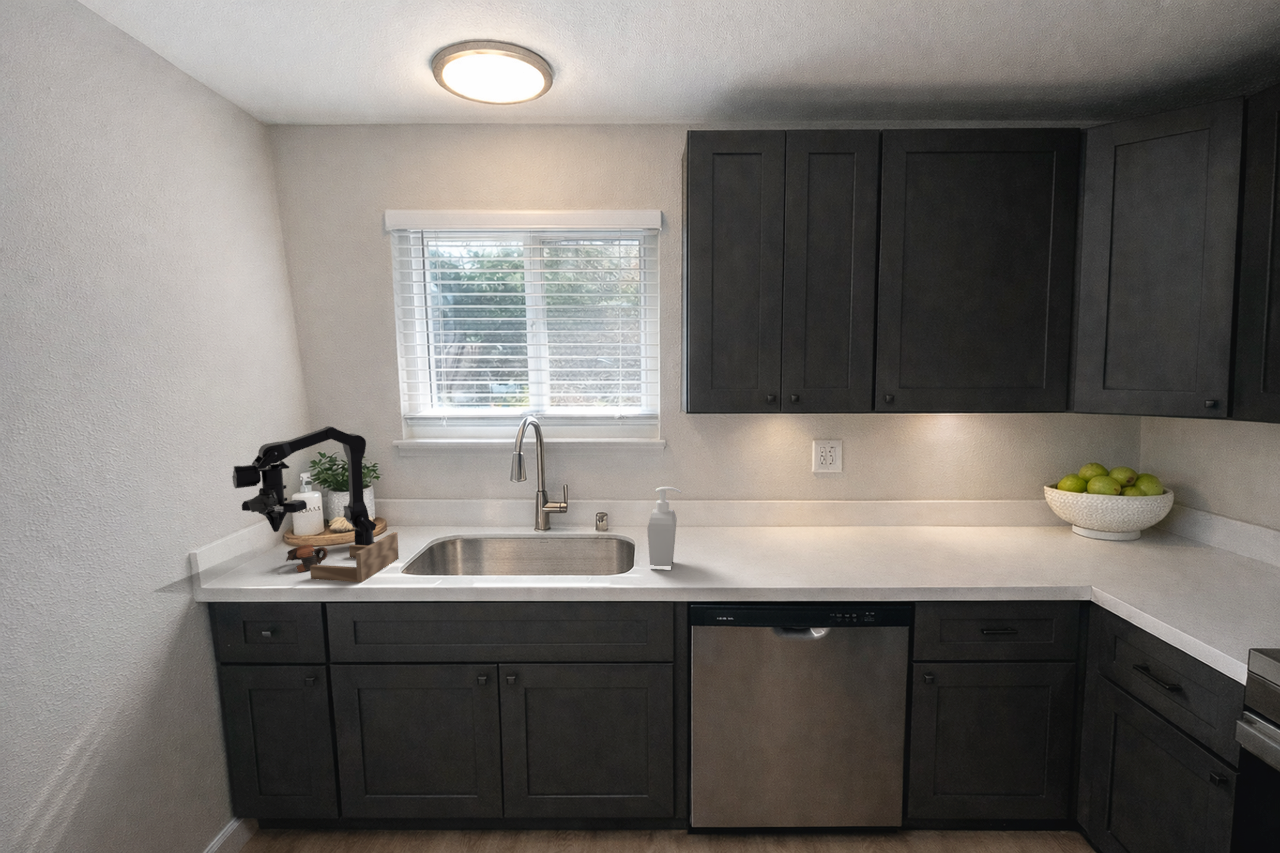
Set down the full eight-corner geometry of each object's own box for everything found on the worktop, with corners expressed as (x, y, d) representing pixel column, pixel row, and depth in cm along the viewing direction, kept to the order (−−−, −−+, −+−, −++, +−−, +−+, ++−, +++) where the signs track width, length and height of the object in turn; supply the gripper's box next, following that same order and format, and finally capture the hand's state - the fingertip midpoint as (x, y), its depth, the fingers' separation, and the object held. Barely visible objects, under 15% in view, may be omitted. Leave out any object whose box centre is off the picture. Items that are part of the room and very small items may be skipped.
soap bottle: (679, 573, 193) (680, 492, 190) (646, 571, 194) (647, 491, 191) (681, 560, 205) (682, 483, 202) (651, 558, 206) (651, 482, 203)
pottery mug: (287, 576, 190) (280, 551, 191) (295, 579, 198) (288, 555, 200) (329, 562, 194) (322, 537, 196) (335, 565, 202) (328, 542, 204)
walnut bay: (352, 556, 207) (350, 530, 206) (398, 558, 205) (397, 532, 204) (310, 579, 186) (309, 550, 185) (361, 582, 184) (360, 553, 183)
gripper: (226, 488, 189) (230, 537, 191) (281, 490, 187) (285, 540, 189) (253, 480, 200) (256, 527, 202) (306, 482, 198) (309, 530, 200)
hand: (276, 531), depth 198 cm, fingers closed
